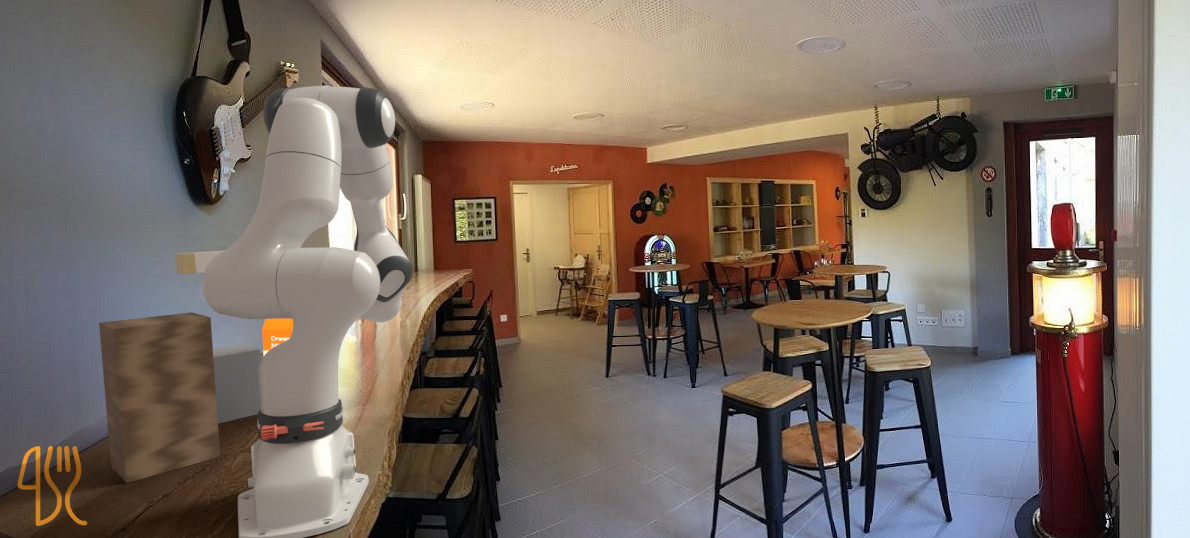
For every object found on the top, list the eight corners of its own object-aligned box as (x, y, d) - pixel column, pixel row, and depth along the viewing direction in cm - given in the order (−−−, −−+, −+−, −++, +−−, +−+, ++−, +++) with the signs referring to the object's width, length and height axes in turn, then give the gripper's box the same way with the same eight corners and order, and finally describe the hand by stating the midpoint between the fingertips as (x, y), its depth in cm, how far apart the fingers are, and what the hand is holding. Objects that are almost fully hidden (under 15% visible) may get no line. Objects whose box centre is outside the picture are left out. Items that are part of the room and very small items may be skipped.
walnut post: (201, 444, 118) (191, 312, 115) (220, 456, 111) (210, 317, 109) (111, 467, 107) (99, 322, 105) (126, 483, 100) (113, 328, 98)
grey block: (246, 404, 143) (242, 344, 142) (264, 412, 137) (260, 349, 135) (198, 415, 135) (193, 351, 134) (214, 424, 129) (210, 357, 128)
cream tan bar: (289, 263, 126) (287, 246, 125) (296, 264, 124) (295, 246, 123) (177, 273, 111) (175, 253, 110) (183, 274, 108) (181, 254, 108)
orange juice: (297, 381, 163) (292, 308, 161) (264, 381, 163) (260, 308, 161) (311, 374, 171) (307, 304, 169) (280, 374, 171) (276, 304, 169)
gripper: (316, 267, 139) (259, 239, 129) (363, 272, 126) (303, 241, 116) (304, 292, 137) (245, 266, 127) (350, 299, 124) (288, 271, 114)
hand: (273, 254), depth 122 cm, fingers closed on cream tan bar, 4 cm apart
